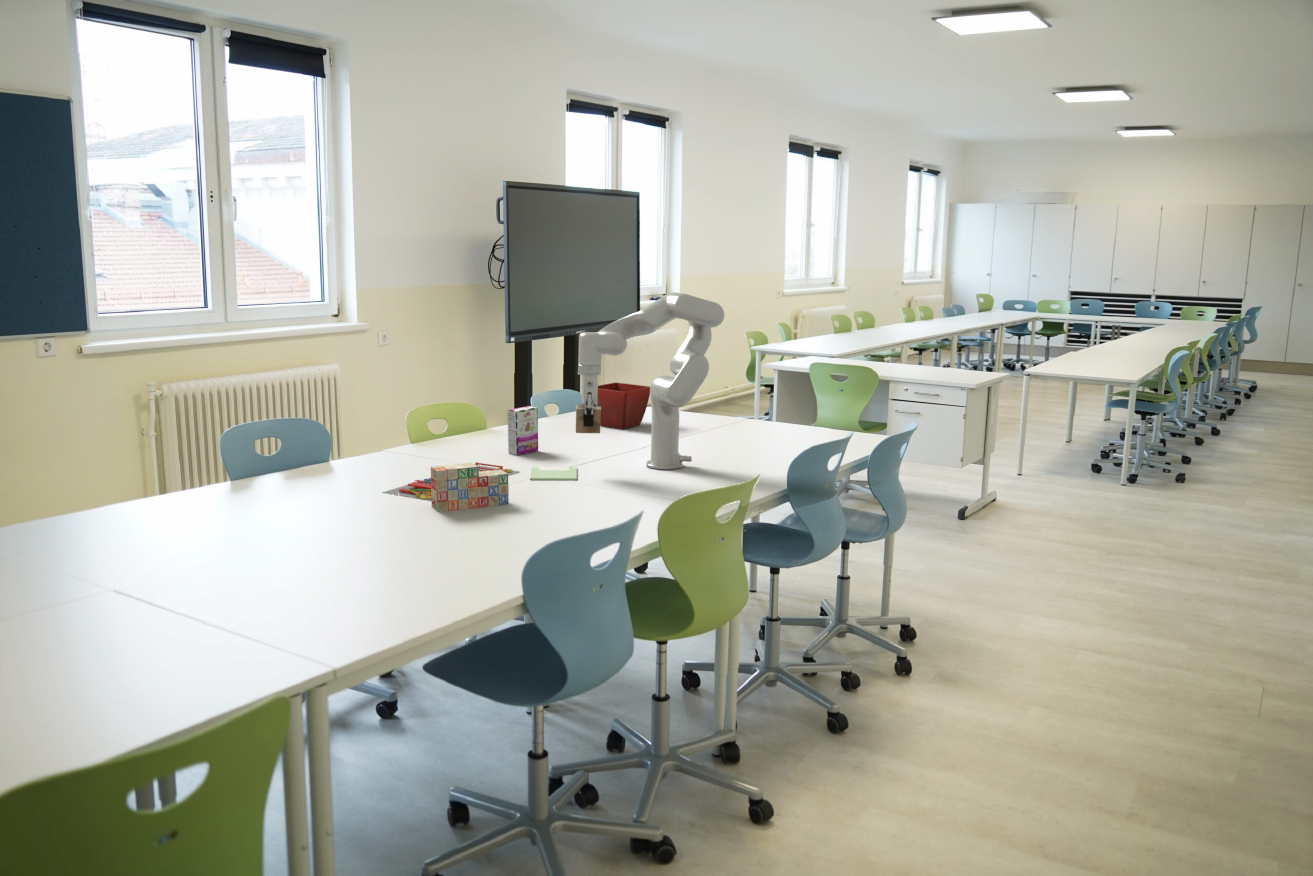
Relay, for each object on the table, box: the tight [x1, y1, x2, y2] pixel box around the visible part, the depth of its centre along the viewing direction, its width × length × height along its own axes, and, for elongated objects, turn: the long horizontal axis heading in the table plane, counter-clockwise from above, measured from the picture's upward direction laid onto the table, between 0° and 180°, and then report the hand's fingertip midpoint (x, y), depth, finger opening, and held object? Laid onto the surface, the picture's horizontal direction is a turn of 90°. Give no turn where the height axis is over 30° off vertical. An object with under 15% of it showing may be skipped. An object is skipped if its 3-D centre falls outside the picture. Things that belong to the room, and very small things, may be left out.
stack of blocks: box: [430, 462, 510, 512], centre depth 285 cm, size 21×6×12 cm, turn 118°
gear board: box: [381, 461, 520, 502], centre depth 314 cm, size 45×2×19 cm
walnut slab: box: [575, 403, 601, 434], centre depth 326 cm, size 8×4×9 cm, turn 96°
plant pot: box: [593, 382, 651, 430], centre depth 415 cm, size 19×19×17 cm
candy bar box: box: [507, 405, 539, 456], centre depth 358 cm, size 11×5×16 cm, turn 143°
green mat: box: [529, 466, 578, 481], centre depth 327 cm, size 15×16×1 cm
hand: (588, 424), depth 326 cm, fingers closed on walnut slab, 4 cm apart
